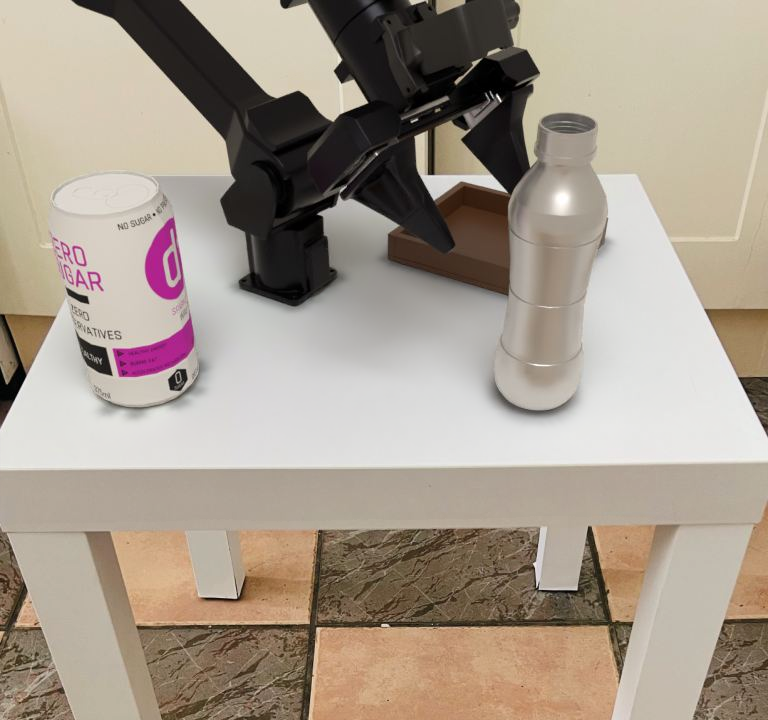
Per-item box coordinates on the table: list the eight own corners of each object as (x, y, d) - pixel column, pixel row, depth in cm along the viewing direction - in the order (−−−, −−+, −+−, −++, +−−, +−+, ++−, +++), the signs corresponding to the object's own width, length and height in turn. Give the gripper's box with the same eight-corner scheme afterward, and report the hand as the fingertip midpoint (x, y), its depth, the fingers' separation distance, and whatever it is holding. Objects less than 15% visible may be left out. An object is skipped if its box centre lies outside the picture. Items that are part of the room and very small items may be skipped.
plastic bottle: (575, 371, 71) (617, 104, 57) (580, 425, 66) (628, 146, 52) (491, 367, 71) (513, 101, 58) (490, 420, 66) (514, 143, 53)
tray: (387, 259, 85) (387, 233, 83) (459, 205, 93) (461, 180, 91) (541, 305, 78) (545, 278, 77) (604, 242, 87) (608, 217, 85)
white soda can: (214, 356, 73) (186, 171, 63) (176, 418, 67) (138, 224, 57) (119, 346, 74) (76, 162, 64) (73, 405, 68) (17, 213, 58)
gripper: (329, -36, 50) (481, 217, 51) (530, -89, 60) (650, 124, 62) (247, 86, 59) (378, 297, 61) (433, 22, 69) (540, 204, 71)
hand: (492, 227), depth 63 cm, fingers open, 9 cm apart
